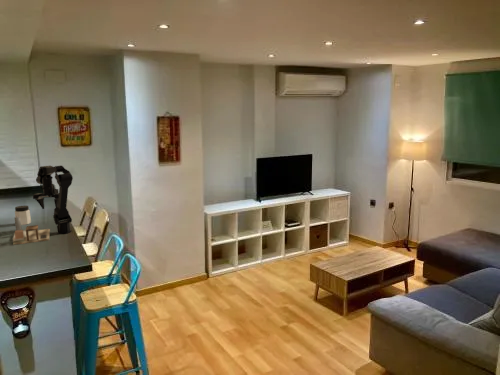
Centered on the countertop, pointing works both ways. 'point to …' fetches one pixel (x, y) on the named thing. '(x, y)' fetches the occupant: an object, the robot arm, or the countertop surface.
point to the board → (42, 236)
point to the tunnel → (31, 228)
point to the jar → (23, 214)
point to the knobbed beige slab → (19, 230)
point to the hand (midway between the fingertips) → (50, 208)
